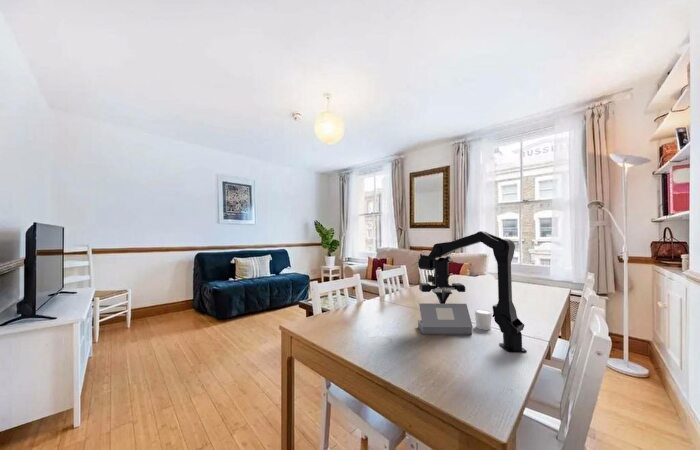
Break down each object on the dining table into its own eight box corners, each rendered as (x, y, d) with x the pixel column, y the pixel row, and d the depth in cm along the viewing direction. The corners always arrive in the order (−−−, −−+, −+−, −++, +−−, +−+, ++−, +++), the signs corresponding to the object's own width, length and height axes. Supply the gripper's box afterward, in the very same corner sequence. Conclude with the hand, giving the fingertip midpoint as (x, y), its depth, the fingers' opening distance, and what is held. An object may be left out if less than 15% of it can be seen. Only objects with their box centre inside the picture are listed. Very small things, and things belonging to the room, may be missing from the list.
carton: (471, 334, 110) (471, 327, 110) (423, 334, 111) (423, 327, 111) (463, 327, 119) (463, 320, 119) (418, 327, 120) (418, 320, 120)
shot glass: (495, 330, 115) (494, 313, 116) (479, 330, 116) (478, 313, 116) (487, 324, 122) (487, 309, 123) (472, 324, 122) (472, 309, 123)
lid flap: (472, 327, 110) (472, 327, 110) (422, 327, 111) (422, 326, 110) (466, 304, 116) (466, 303, 116) (419, 303, 117) (419, 303, 116)
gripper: (456, 269, 126) (456, 302, 125) (416, 269, 126) (416, 302, 126) (465, 272, 115) (466, 309, 114) (422, 272, 115) (422, 309, 115)
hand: (442, 307), depth 118 cm, fingers closed, pressing on lid flap
